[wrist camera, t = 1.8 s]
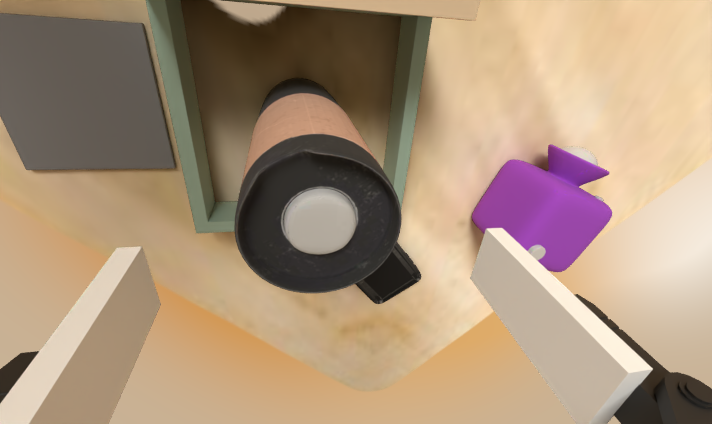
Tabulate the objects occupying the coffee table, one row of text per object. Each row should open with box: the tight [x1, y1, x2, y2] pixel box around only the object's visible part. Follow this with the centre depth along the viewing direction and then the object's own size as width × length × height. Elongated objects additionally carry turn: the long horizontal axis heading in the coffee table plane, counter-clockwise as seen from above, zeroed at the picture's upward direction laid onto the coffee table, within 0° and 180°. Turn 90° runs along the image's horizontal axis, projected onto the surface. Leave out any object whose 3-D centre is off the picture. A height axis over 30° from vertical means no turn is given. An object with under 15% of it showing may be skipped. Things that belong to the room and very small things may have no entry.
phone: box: [355, 242, 421, 304], centre depth 42 cm, size 8×1×15 cm
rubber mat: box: [0, 13, 176, 170], centre depth 27 cm, size 12×12×1 cm
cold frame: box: [146, 0, 480, 233], centre depth 26 cm, size 21×20×11 cm
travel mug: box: [234, 78, 401, 293], centre depth 23 cm, size 8×8×20 cm
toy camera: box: [472, 145, 612, 272], centre depth 36 cm, size 11×14×10 cm
